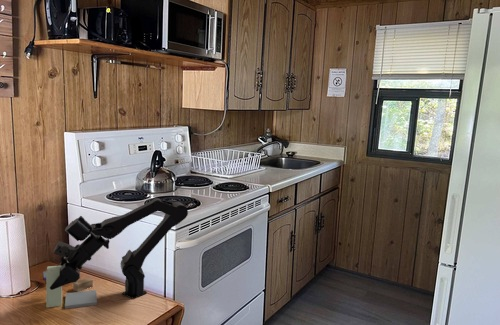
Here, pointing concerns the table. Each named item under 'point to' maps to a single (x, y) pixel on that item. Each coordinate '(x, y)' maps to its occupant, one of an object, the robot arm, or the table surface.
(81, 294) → the slate tile
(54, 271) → the sage green pillar
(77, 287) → the brown block
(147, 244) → the robot arm
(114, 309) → the table surface
